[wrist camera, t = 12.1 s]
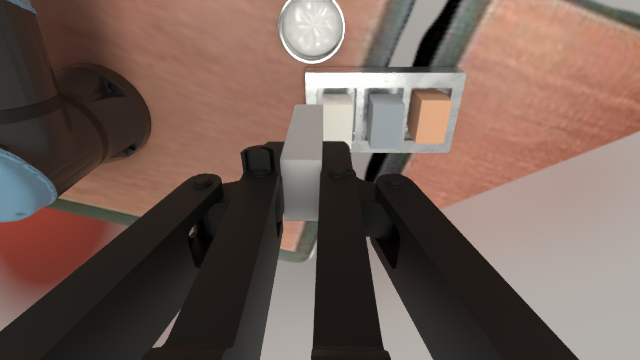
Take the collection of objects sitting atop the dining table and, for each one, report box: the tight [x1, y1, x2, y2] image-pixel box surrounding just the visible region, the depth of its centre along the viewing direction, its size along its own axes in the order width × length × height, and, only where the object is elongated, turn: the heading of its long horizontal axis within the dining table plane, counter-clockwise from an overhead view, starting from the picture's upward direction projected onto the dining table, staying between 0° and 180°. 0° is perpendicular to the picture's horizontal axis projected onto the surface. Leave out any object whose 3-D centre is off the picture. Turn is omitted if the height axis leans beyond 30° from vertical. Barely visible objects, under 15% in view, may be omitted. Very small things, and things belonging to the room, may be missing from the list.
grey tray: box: [305, 67, 467, 153], centre depth 48 cm, size 22×12×4 cm, turn 90°
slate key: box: [366, 94, 405, 149], centre depth 44 cm, size 4×6×5 cm, turn 0°
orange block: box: [407, 90, 452, 144], centre depth 46 cm, size 4×6×5 cm, turn 0°
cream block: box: [322, 94, 353, 149], centre depth 44 cm, size 4×6×5 cm, turn 0°
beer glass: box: [278, 0, 346, 64], centre depth 37 cm, size 7×7×15 cm
